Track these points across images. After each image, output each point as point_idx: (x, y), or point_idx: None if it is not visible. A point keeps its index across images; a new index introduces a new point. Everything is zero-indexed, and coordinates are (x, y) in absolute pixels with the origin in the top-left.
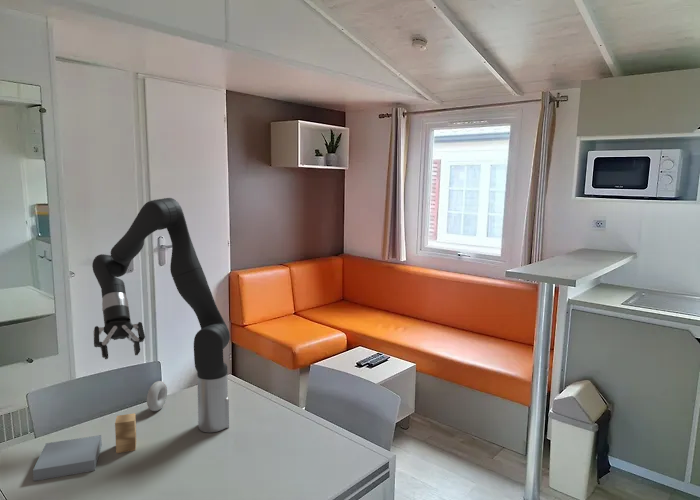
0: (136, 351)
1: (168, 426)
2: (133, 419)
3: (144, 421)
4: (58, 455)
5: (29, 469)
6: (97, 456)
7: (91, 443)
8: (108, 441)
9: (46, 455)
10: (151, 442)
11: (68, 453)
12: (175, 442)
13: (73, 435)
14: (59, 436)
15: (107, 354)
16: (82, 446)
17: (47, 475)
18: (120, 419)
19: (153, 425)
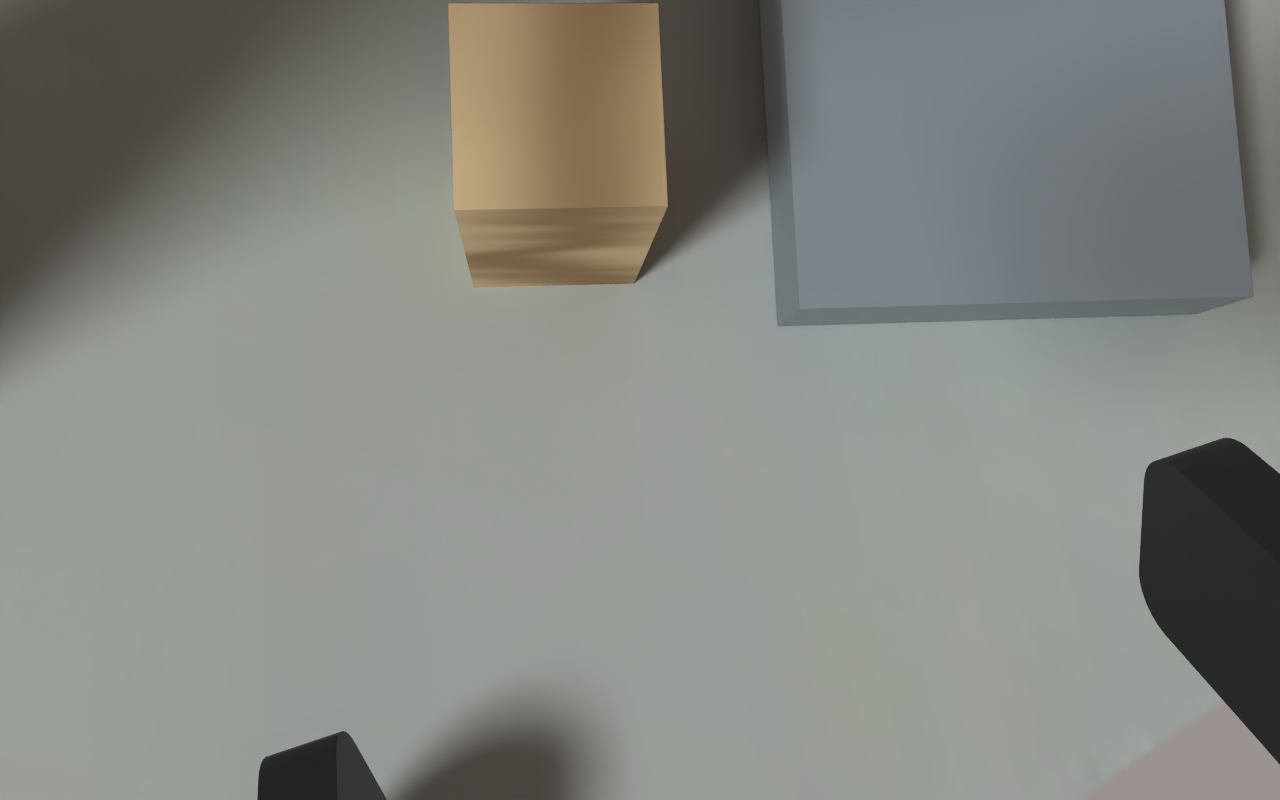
0: (324, 759)
1: (176, 522)
2: (461, 40)
3: (431, 716)
4: (1083, 32)
5: (1241, 89)
6: (769, 54)
7: (856, 161)
8: (728, 372)
9: (1180, 65)
10: (334, 230)
11: (1011, 38)
12: (107, 159)
13: (1064, 591)
14: None
15: (1217, 485)
16: (923, 130)
17: None
18: (611, 90)
19: (332, 591)
